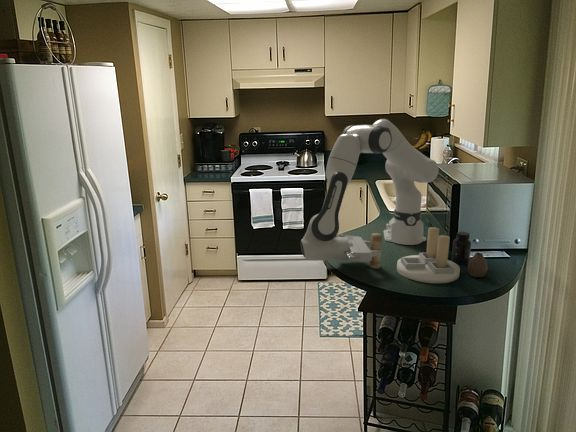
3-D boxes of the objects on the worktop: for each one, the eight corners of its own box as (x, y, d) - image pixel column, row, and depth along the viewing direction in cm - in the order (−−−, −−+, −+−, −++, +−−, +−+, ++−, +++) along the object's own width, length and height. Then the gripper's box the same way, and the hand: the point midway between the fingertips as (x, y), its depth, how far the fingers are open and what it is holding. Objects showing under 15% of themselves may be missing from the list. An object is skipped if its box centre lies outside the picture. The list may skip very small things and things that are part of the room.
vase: (472, 271, 186) (475, 249, 184) (489, 276, 181) (492, 254, 179) (463, 275, 182) (465, 253, 179) (480, 280, 177) (483, 258, 174)
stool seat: (389, 261, 195) (392, 224, 191) (445, 260, 197) (449, 223, 193) (407, 283, 173) (410, 242, 169) (469, 282, 175) (474, 241, 171)
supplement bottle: (447, 260, 198) (450, 231, 194) (460, 257, 200) (463, 230, 197) (459, 265, 192) (462, 236, 188) (472, 263, 194) (476, 234, 191)
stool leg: (368, 264, 192) (370, 233, 188) (378, 264, 192) (380, 233, 188) (370, 268, 188) (372, 236, 184) (381, 268, 188) (383, 236, 185)
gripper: (348, 249, 176) (385, 249, 177) (338, 233, 196) (372, 232, 197) (347, 266, 178) (384, 265, 179) (338, 247, 197) (371, 247, 198)
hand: (378, 248), depth 188 cm, fingers open, 8 cm apart
